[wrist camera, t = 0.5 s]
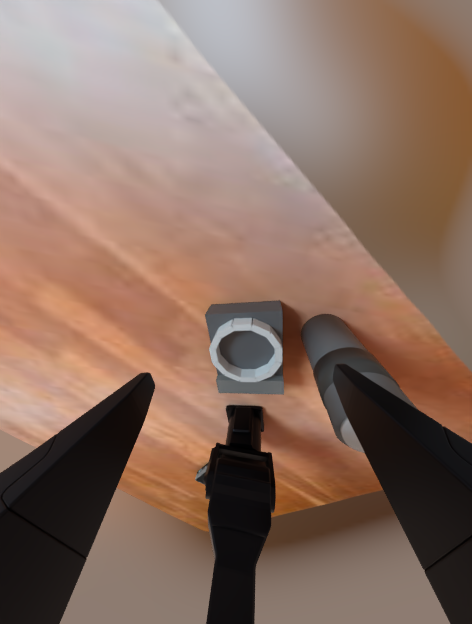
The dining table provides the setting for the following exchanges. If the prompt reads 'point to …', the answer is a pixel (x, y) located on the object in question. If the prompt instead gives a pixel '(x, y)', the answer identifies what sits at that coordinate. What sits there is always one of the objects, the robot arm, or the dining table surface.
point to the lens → (336, 350)
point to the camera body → (247, 346)
